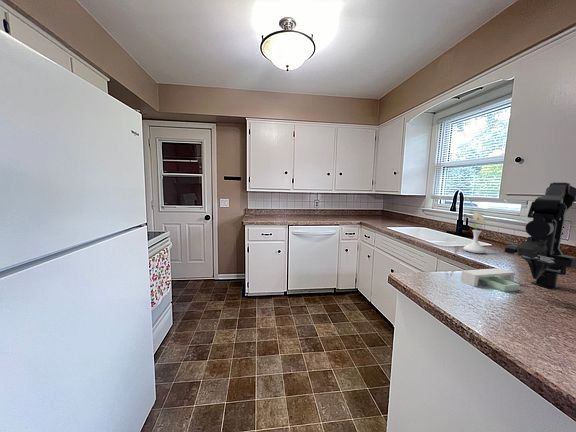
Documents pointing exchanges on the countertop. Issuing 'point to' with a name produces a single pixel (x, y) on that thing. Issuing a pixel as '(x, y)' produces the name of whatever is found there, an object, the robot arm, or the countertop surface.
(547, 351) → the countertop surface
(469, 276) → the shelf
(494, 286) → the tray
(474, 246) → the flower in vase
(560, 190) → the robot arm
